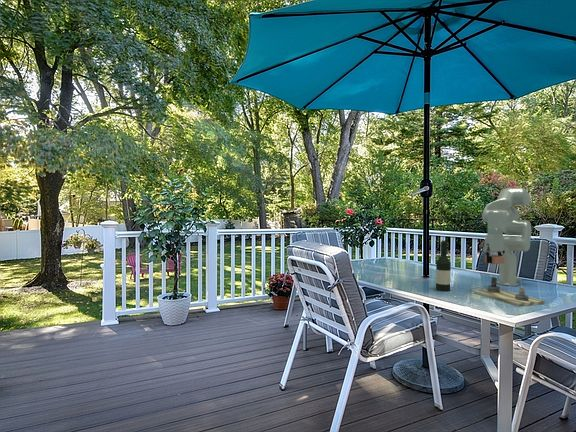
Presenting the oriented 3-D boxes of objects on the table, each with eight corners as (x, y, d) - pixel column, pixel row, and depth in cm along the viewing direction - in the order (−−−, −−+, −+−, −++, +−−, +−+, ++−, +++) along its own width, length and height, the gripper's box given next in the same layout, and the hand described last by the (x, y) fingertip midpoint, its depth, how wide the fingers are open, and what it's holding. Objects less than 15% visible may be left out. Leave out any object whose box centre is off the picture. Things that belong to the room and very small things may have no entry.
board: (497, 290, 221) (497, 275, 221) (545, 303, 192) (545, 285, 192) (473, 292, 216) (473, 276, 216) (518, 306, 187) (518, 287, 187)
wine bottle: (440, 287, 229) (440, 239, 228) (453, 290, 222) (454, 240, 221) (432, 289, 224) (433, 240, 223) (446, 292, 217) (446, 241, 216)
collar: (494, 261, 217) (494, 254, 216) (504, 263, 210) (504, 256, 210) (484, 262, 215) (484, 255, 214) (494, 264, 208) (494, 257, 208)
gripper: (501, 231, 218) (500, 260, 218) (477, 231, 213) (477, 262, 213) (512, 232, 211) (511, 262, 211) (488, 232, 205) (487, 264, 206)
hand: (494, 262), depth 212 cm, fingers closed on collar, 7 cm apart
